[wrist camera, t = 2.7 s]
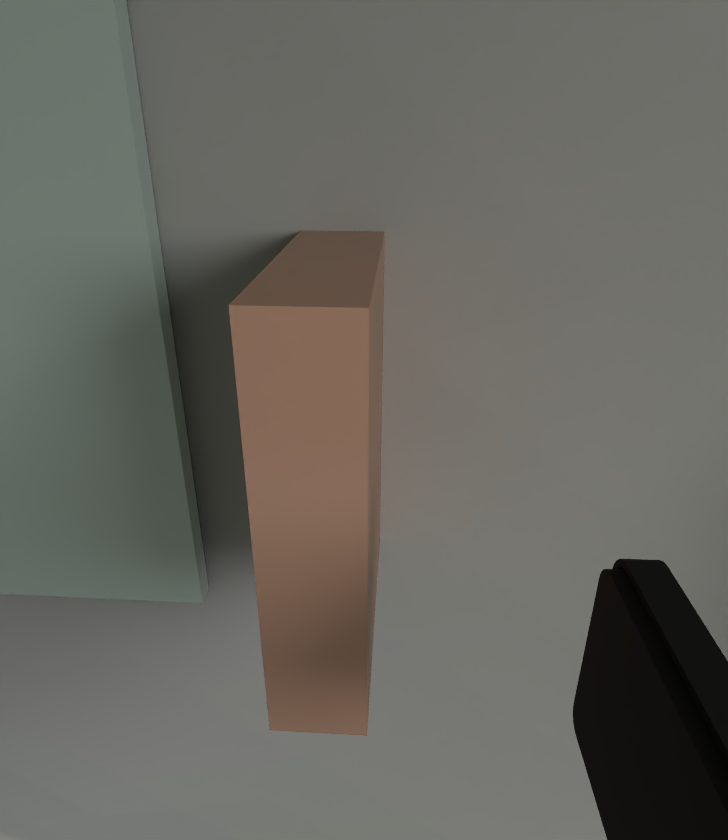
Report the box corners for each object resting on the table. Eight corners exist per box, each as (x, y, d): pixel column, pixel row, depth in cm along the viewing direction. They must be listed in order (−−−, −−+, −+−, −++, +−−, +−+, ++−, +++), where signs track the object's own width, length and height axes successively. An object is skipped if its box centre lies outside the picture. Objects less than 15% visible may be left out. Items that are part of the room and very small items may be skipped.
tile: (294, 230, 13) (217, 305, 8) (385, 231, 13) (369, 308, 8) (308, 533, 17) (261, 729, 11) (380, 536, 17) (367, 735, 11)
